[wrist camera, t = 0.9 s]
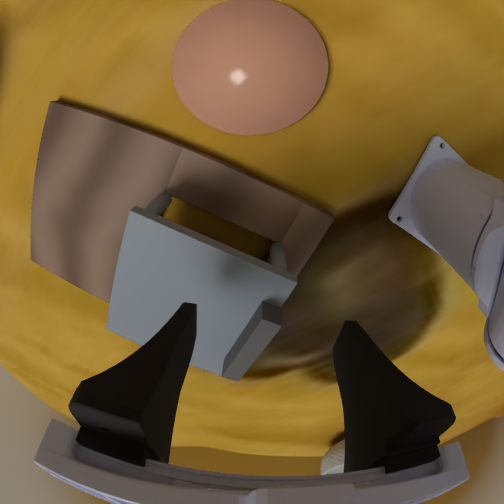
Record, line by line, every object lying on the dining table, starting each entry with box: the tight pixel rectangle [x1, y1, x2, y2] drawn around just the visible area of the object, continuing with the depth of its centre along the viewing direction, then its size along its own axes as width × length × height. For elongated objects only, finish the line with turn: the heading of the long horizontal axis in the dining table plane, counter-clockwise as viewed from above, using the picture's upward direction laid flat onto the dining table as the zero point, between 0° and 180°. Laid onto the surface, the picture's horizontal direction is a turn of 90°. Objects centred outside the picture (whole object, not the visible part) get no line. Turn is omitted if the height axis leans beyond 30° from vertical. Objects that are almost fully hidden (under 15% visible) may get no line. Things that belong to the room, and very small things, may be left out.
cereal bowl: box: [321, 438, 345, 475], centre depth 36 cm, size 17×17×7 cm
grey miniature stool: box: [106, 192, 297, 381], centre depth 18 cm, size 10×10×6 cm
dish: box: [172, 0, 328, 135], centre depth 15 cm, size 10×10×1 cm
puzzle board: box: [31, 101, 334, 303], centre depth 21 cm, size 24×16×1 cm, turn 64°
